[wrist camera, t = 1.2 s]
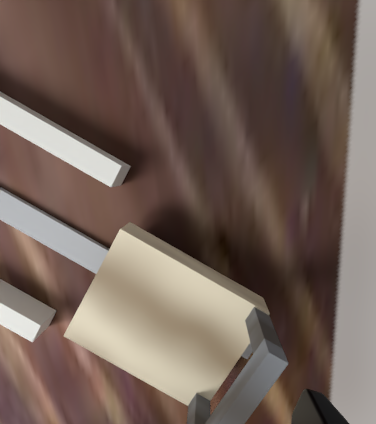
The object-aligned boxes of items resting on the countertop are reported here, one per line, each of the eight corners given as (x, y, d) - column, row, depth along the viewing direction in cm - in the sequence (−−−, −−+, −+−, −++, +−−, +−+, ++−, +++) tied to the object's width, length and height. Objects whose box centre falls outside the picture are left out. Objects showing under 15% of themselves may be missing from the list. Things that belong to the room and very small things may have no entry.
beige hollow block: (202, 374, 21) (199, 485, 13) (86, 309, 20) (20, 385, 13) (259, 289, 19) (290, 361, 12) (135, 218, 19) (90, 248, 12)
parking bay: (205, 414, 21) (205, 454, 18) (-120, 231, 21) (-174, 241, 18) (307, 267, 19) (325, 285, 16) (-59, 57, 19) (-110, 36, 16)
